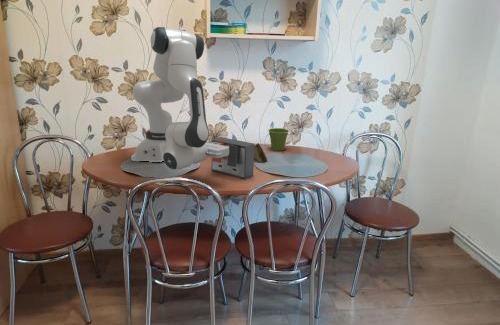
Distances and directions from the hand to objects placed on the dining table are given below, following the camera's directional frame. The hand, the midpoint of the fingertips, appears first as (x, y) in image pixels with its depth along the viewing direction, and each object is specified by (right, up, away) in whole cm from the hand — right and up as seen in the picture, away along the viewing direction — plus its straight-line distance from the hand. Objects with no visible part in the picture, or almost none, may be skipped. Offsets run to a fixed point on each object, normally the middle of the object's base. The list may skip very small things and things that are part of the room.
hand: (218, 144), depth 158 cm
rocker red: (-1, -8, +2) cm, 8 cm away
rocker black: (+6, -9, -2) cm, 12 cm away
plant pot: (+30, -1, +47) cm, 56 cm away
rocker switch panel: (+6, -13, +6) cm, 15 cm away
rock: (+19, -7, +27) cm, 34 cm away
